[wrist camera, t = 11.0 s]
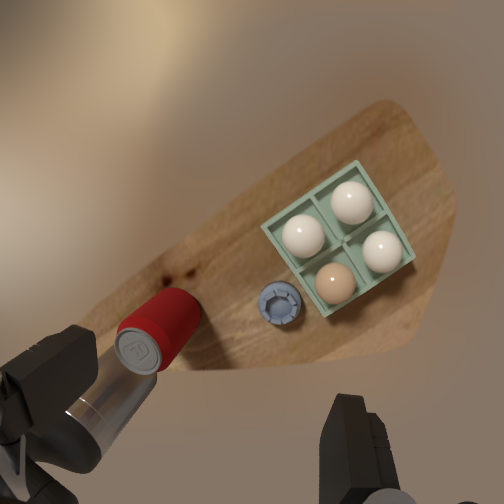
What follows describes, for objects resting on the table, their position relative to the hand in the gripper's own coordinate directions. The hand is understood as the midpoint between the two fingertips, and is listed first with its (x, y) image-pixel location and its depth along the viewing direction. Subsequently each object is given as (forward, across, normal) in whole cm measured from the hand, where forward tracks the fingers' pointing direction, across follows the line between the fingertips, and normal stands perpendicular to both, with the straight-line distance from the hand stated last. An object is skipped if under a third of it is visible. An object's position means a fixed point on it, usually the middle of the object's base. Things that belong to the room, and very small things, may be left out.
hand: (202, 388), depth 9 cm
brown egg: (+26, -7, +3) cm, 27 cm away
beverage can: (+28, +11, +12) cm, 33 cm away
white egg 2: (+26, -7, -6) cm, 28 cm away
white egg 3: (+26, -11, -1) cm, 28 cm away
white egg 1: (+26, -3, -1) cm, 26 cm away
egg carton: (+28, -7, -1) cm, 29 cm away
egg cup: (+28, -2, +7) cm, 29 cm away
